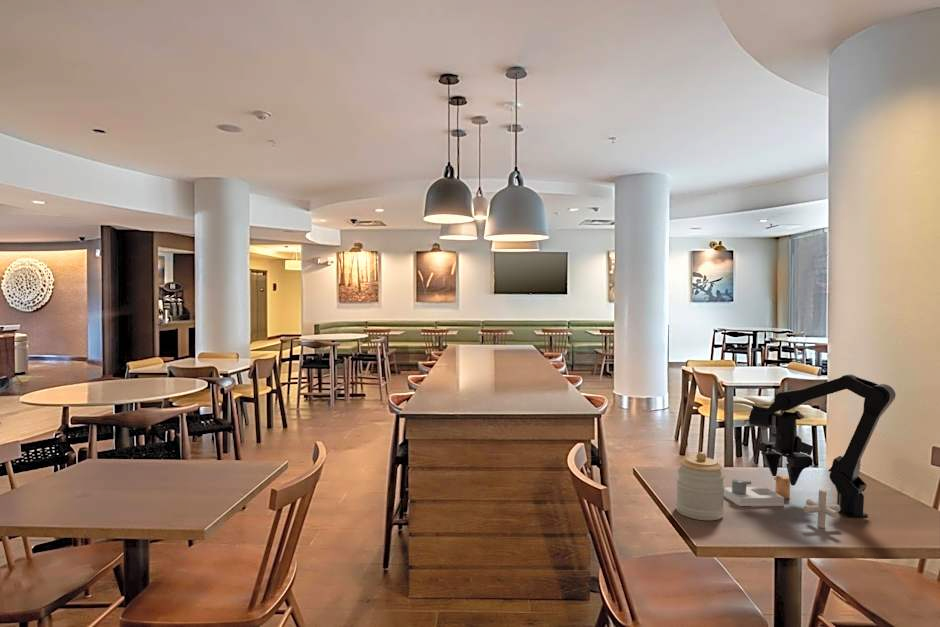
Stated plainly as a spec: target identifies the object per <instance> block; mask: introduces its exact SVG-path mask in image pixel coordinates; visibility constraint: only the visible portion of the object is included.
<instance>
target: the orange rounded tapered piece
mask: <svg viewBox="0 0 940 627" xmlns="http://www.w3.org/2000/svg"><path fill="white" fill-rule="evenodd" d="M773 477H774V480H775V491H774V492H775V493H777V494H778V495H780V496H782V497H784V500H785V499H787V500H788V499H790V497H791V494H790V493H791V483H790V479H789V476H785V475H776V476H773Z"/></svg>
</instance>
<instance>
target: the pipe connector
mask: <svg viewBox="0 0 940 627" xmlns="http://www.w3.org/2000/svg"><path fill="white" fill-rule="evenodd" d="M827 492H828V491H827V490H824V489H818V502H817V501H815V500H813V499H811V498H808V499H806V500H805V501H806V502H805V504H806V505H804V506H803V508H802V510H803V512H804V513H806V514H813V513H817V524H816V525H817V526H816V527H818V528H821V529H825V528H826V515H827V516H829V517H831V518H834V519H838V518H839V517H840V513H839V511H840V506H839V505H837V504H827Z"/></svg>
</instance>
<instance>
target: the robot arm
mask: <svg viewBox="0 0 940 627" xmlns="http://www.w3.org/2000/svg"><path fill="white" fill-rule="evenodd" d="M844 390H848V391H850V392H852V393H853V394H855V395H857V396H859V397H861V398H864V400H863V412H862V415H861V417H860V419H859V421H858V424H857V425H856V428H855V431H854V433H853V435H852V437H851V439H850V441H849V443H848V446H847V449H846V450H845V453H844V454H843V456H841V455H839V456H837V457H835V458H833V461H832V465H831V467H830V468H829V469H828V472H829V479H830V481H831V483H832V484H833V485H834V486H835V489H836V492H837V496H836V497H837V498H836V499H837V500H836V505H839V506H840V511H839V512H838V513H839V514H842V515H844V516H845V517H847V518H860V517H861V518H863V517H865V518H866V517H867V518H868V517H869V514H868V513H866V512H864V504H865V495H864V494H863V492H865V490H866V488H867V486H868V484H867V483H866V482H864V480H863V479H862V478H861V476H860V471H861V460H862V457H863V456H864V453H865V450H866V448H867V446H868V445H869V442H870V440H871V438H872V436H873V433H874V431H875V429H876V427H877V424H878V422H879V420H880V418H881V417H882V415H883V414H884V413H885V412H886V411H887V410H888V409H889V407H890V406H891V405H892V403H893V402H894V400H895V399H896V392H895V390H894V388H892V387H891V386H890V385H889V384H886V383H880V384H879V383H875V382H873V381H870V380H867V379H863V378H861V377H859V376H856V375H854V374H846V375H845V374H844V375H842V376H840V377H838V378H835V379H832V380H829V381H825V382H822V383H819V384H816V385H812V386H810V387H806V388H797V389H792V390H785V391H782V392H779V393H776V394H775V396H774V399H773V402H772V403H771V404H770V405H769V406H762V405H759V404H754V405H752V409H751V410H750V413H749V415H748V422H749V425H750V426H752V427H758V428H765V429H771V428H772V427H775V429H774V431H775V432H771V436H772V437H773V438H774V441H761V442H760V443H758V451H759V452H760V454H761V455H762V457H763V459H764V460H765V462H766V466H768V469H769V471H770V473H771V475H772V477H776V476H778V475H777V474H778V470H779V467H778V466H779V460H780V459H781V457H785V458H786V462H787V463H785V464H786V469H787V474H788V477H789V479H790V486H796V485H797V482H798V479H799V477H800V476H801V473H802V472H803V470H804V469H806V468H807V469H808V468H809V467H812V466H813V462H814V459H813V458H812V457H811V455H812V452H813V450H814V447H815V446H813V445H811V444H808V443H805V442H803V441H802V438H801V437H800V436H799V435H797V420H799V421H800V420H803V419H804V418H805V416H804V415H803V414H802V413H801V412H800V411H799V410H796V411H794V412H792V411H790V410H794V409H796V408H798V407H800V406H802V405H803V404H806V403H808V402H809V401H812V400H815V399H817V398H822V397H824V396H827V395H831V394H834V393H839V392H840V391H841V392H842V391H844ZM780 411H783V412H782V413H779V412H780Z"/></svg>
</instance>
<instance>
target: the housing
mask: <svg viewBox="0 0 940 627" xmlns="http://www.w3.org/2000/svg"><path fill="white" fill-rule="evenodd" d="M747 485H752V481H751V480H743V479H739V478H737V479H735V478H734V479H732V480H731V487H728V486H727V487H725V489H724V498H725V499H727V500H728V501H730V502H732V503H734V504H735V505H737V506H738V505H739V506H738V507H740V506H751V507H783V506H784V505H785V499H784V497H782V496H780V495H778V494H777V493H775V491H773V490H771V489H769V488H767V487H765V486H747Z"/></svg>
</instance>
